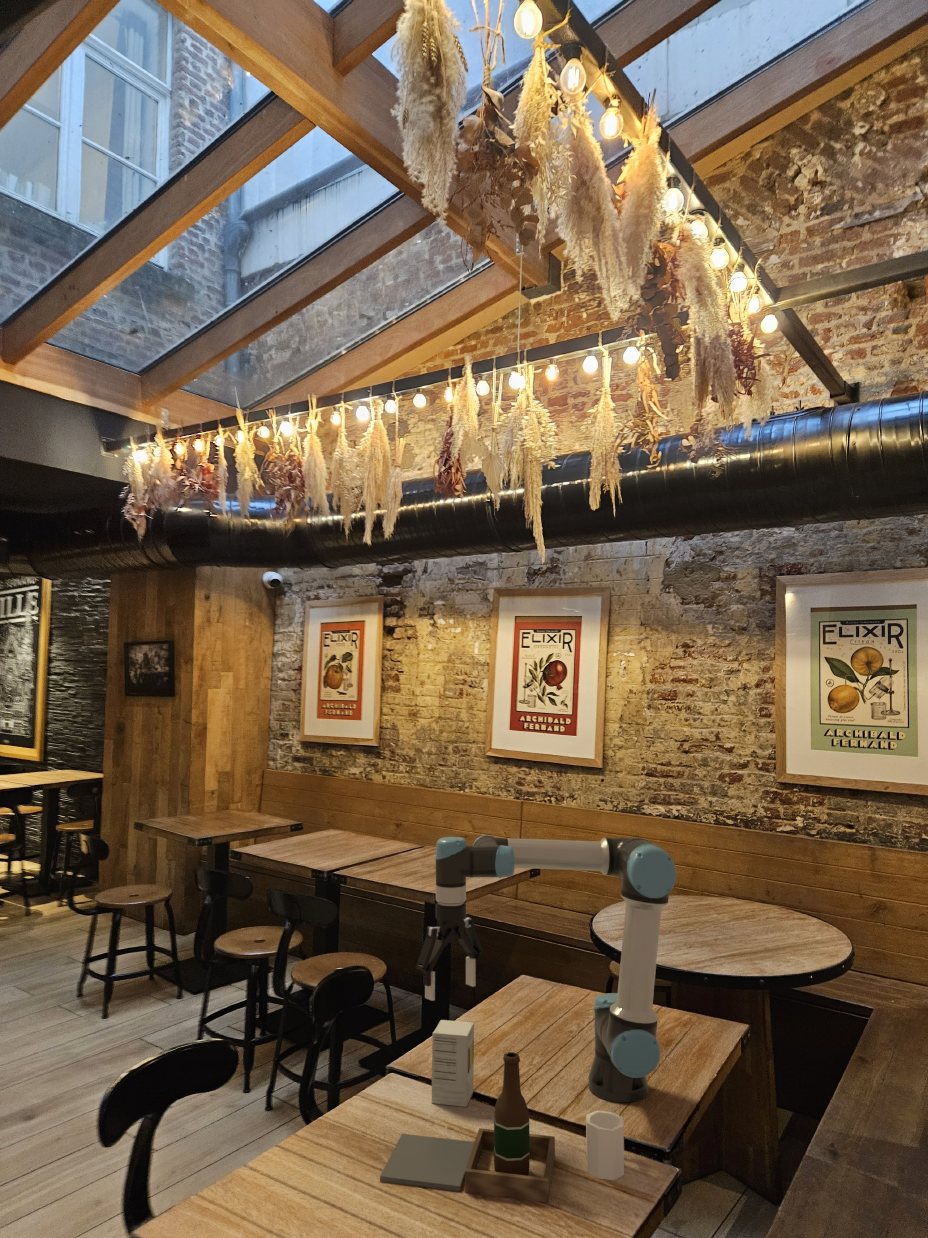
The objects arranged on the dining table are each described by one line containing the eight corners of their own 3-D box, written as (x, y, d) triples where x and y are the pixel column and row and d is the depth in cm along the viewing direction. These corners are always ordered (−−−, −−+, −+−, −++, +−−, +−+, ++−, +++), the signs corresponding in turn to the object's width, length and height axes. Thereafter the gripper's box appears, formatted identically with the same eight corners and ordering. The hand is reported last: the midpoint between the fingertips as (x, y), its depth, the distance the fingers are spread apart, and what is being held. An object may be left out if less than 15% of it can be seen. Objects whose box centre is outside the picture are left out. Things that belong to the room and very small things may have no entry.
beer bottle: (505, 1188, 165) (505, 1065, 168) (486, 1169, 172) (487, 1051, 175) (537, 1178, 169) (536, 1058, 171) (517, 1159, 176) (517, 1044, 178)
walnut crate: (554, 1156, 177) (554, 1136, 178) (548, 1202, 161) (548, 1181, 161) (479, 1147, 181) (479, 1128, 181) (464, 1192, 164) (464, 1171, 164)
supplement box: (467, 1108, 198) (467, 1036, 200) (430, 1104, 200) (431, 1033, 202) (474, 1090, 207) (474, 1021, 209) (439, 1086, 209) (440, 1018, 211)
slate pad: (474, 1146, 181) (474, 1142, 181) (459, 1191, 164) (459, 1186, 164) (401, 1138, 184) (401, 1133, 184) (379, 1181, 167) (380, 1176, 167)
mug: (617, 1185, 167) (616, 1134, 168) (578, 1171, 171) (578, 1123, 172) (637, 1157, 177) (636, 1110, 178) (600, 1146, 182) (600, 1100, 183)
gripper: (475, 891, 209) (476, 976, 207) (402, 908, 192) (401, 1001, 190) (496, 896, 204) (497, 983, 202) (422, 914, 187) (422, 1009, 185)
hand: (450, 992), depth 196 cm, fingers open, 13 cm apart
